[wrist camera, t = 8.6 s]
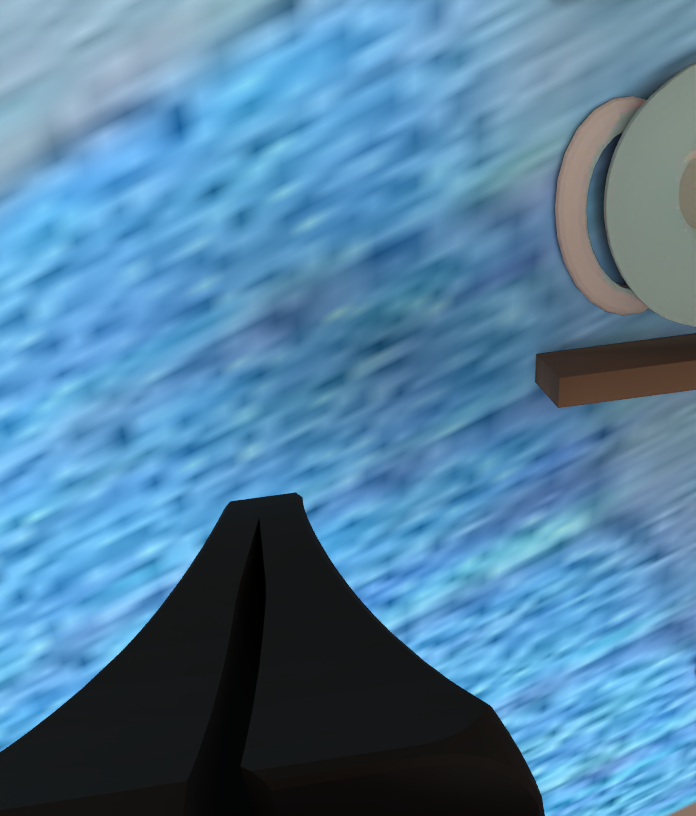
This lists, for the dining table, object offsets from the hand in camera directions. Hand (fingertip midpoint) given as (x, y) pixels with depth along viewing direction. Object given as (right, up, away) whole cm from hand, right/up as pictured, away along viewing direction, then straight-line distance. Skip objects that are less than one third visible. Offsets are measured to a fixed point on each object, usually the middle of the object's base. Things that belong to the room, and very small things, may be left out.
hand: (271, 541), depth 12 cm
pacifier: (+10, +9, +8) cm, 16 cm away
